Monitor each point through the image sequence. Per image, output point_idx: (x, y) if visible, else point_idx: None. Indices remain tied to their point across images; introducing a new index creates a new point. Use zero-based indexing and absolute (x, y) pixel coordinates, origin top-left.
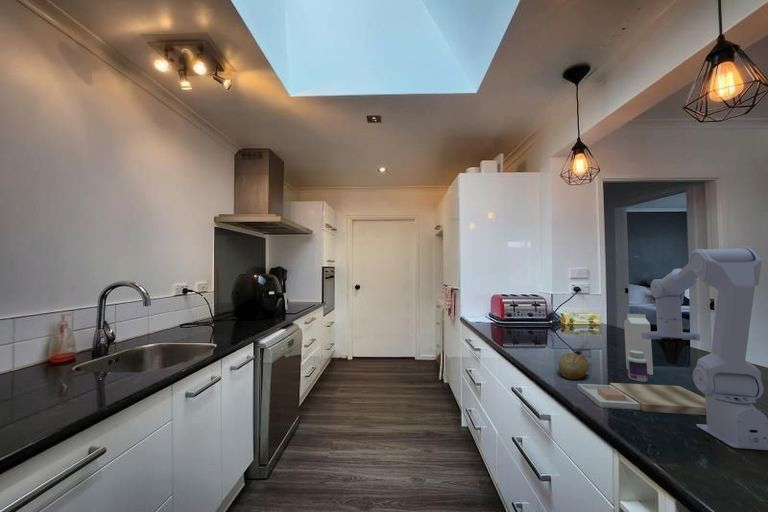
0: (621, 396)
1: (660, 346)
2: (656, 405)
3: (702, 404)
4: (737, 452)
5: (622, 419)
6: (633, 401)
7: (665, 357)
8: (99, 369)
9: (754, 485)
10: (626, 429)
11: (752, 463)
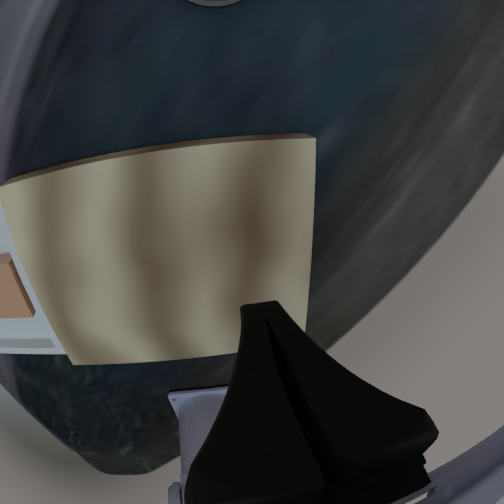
0: (25, 314)
1: (219, 418)
2: (104, 362)
3: None
4: None
5: (36, 382)
6: (53, 340)
7: (241, 329)
8: None
9: (157, 465)
10: (44, 407)
11: None
